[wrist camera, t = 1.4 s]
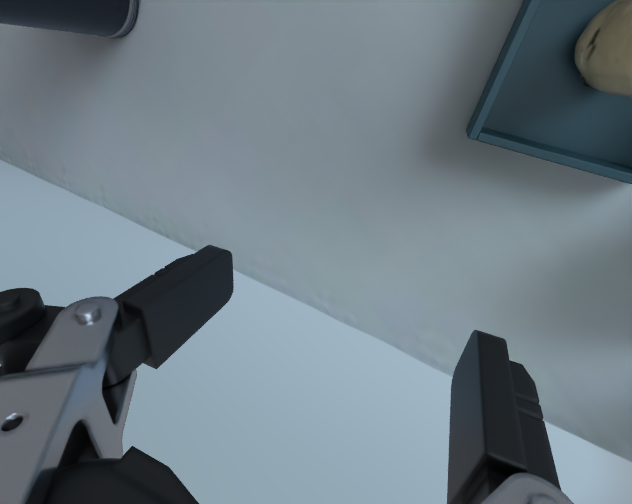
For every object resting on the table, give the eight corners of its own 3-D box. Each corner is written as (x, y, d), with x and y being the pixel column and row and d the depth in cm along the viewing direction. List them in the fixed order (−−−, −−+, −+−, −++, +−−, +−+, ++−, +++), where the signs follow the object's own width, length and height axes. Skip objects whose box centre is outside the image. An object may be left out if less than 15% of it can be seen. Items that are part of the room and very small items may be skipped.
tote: (465, 130, 27) (468, 138, 23) (573, -111, 19) (600, -154, 16) (641, 178, 24) (673, 196, 21) (845, -79, 17) (951, -122, 13)
